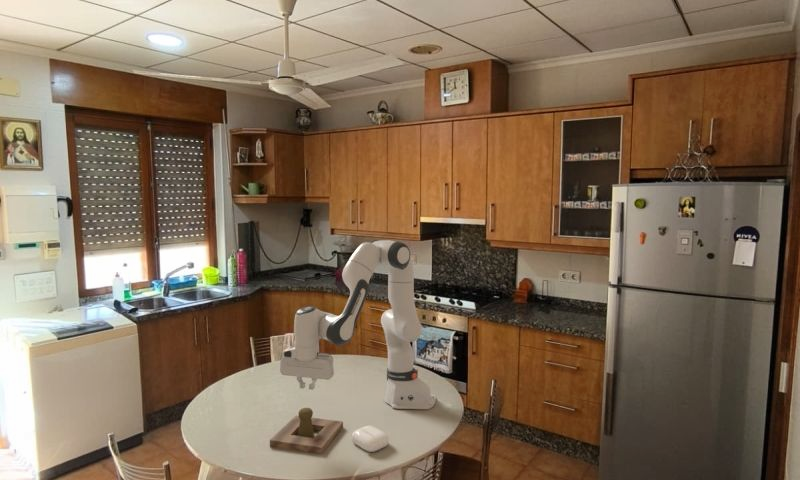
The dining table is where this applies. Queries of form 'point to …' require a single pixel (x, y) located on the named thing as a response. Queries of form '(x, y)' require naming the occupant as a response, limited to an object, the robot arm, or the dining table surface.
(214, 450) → the dining table surface
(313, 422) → the walnut dock
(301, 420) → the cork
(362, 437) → the earbud case
